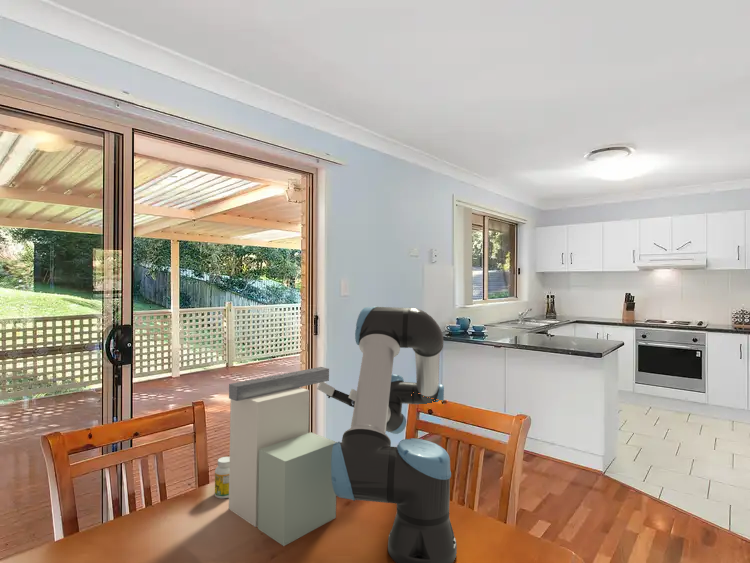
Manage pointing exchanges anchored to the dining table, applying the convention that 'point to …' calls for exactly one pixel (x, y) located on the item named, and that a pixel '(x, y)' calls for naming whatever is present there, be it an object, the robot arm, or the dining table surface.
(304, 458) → the two-step stand
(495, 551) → the dining table surface
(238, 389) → the steel block
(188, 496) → the dining table surface
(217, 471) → the supplement bottle
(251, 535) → the dining table surface
